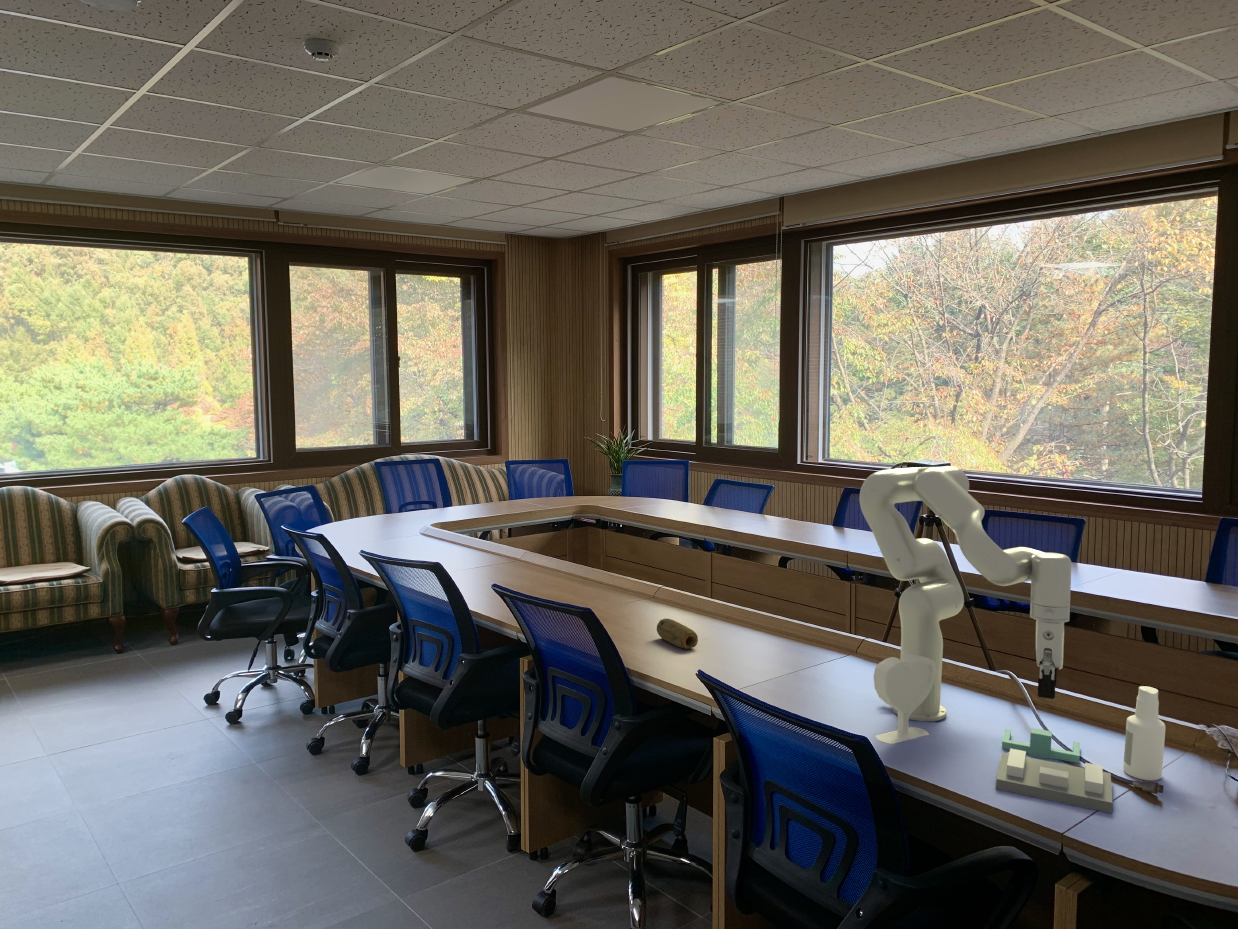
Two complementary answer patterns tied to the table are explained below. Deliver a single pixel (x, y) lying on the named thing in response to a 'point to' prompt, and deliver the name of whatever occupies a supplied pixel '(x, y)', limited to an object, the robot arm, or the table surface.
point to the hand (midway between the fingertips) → (1047, 690)
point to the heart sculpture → (904, 691)
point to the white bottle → (1145, 738)
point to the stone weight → (677, 634)
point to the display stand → (1055, 781)
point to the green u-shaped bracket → (1041, 746)
